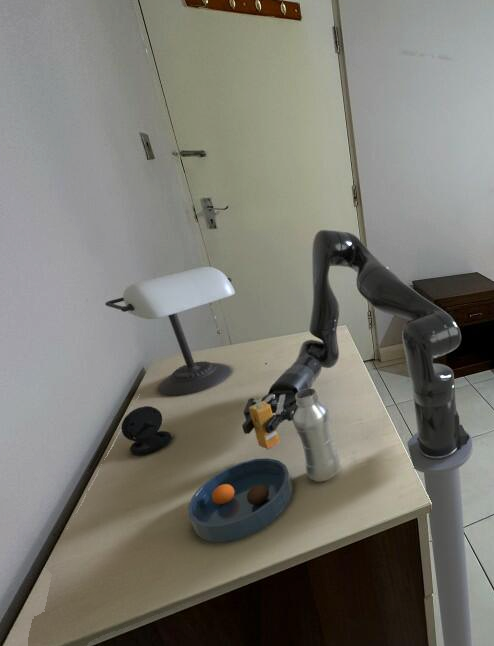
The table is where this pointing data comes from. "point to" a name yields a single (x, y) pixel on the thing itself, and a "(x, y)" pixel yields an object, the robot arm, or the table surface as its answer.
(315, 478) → the silver bottle
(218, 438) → the table surface
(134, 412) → the webcam
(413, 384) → the robot arm
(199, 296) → the lamp
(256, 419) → the supplement box
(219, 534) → the bowl
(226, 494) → the orange ball
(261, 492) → the brown ball
